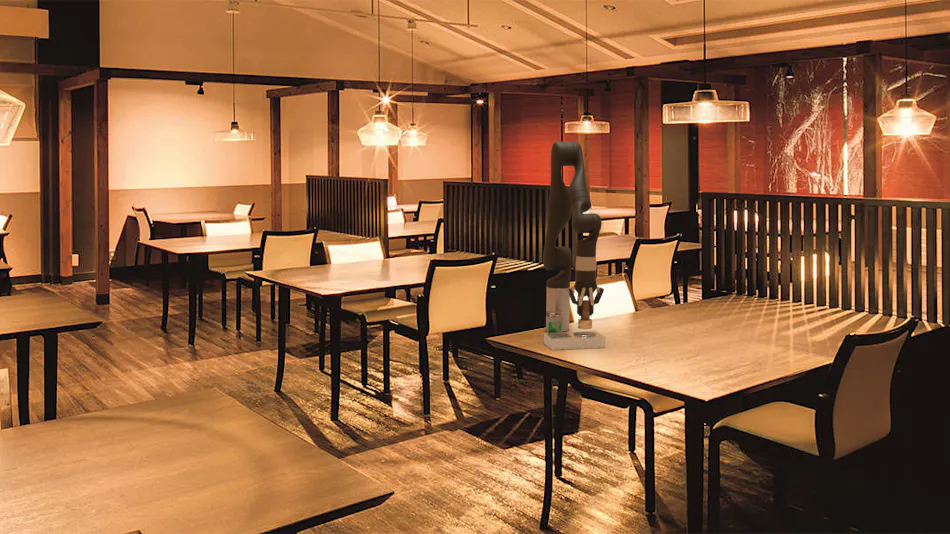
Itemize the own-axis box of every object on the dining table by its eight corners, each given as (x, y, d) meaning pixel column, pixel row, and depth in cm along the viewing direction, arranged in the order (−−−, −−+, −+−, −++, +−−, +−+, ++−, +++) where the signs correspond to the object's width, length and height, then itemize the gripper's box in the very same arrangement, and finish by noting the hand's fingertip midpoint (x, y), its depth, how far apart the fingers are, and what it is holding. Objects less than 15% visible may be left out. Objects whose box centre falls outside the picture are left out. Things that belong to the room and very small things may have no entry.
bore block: (543, 343, 319) (543, 332, 319) (595, 341, 323) (595, 330, 322) (551, 349, 308) (551, 338, 308) (605, 347, 312) (605, 336, 312)
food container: (564, 343, 319) (565, 316, 318) (548, 343, 320) (548, 316, 318) (562, 336, 332) (562, 310, 330) (546, 336, 332) (546, 310, 331)
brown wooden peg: (576, 326, 317) (576, 299, 316) (589, 326, 318) (589, 299, 317) (580, 329, 313) (580, 302, 311) (593, 328, 313) (594, 301, 312)
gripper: (601, 266, 318) (600, 313, 320) (564, 267, 315) (563, 314, 317) (607, 269, 310) (606, 316, 313) (570, 270, 308) (569, 318, 310)
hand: (585, 315), depth 315 cm, fingers closed on brown wooden peg, 3 cm apart
